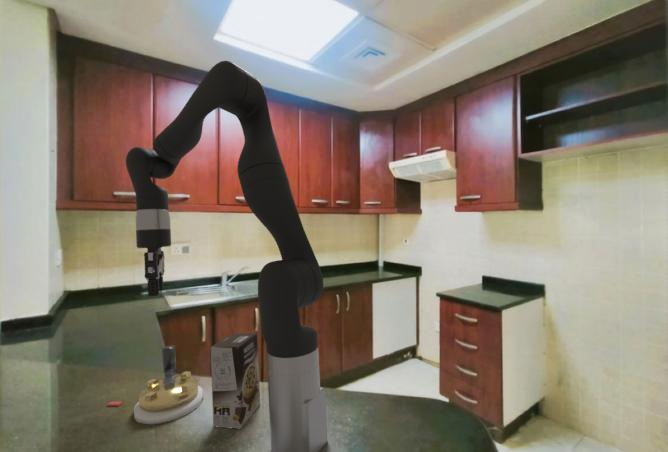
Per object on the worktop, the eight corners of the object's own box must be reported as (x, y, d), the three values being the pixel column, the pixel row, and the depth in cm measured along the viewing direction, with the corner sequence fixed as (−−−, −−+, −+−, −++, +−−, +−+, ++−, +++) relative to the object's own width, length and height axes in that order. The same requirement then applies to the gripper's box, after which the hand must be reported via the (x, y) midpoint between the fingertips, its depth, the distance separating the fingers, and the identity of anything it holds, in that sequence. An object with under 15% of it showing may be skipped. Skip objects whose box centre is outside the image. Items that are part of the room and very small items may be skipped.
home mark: (123, 403, 73) (122, 401, 73) (118, 406, 72) (118, 404, 72) (111, 403, 74) (111, 401, 74) (107, 406, 73) (107, 404, 73)
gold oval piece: (200, 400, 69) (199, 364, 69) (136, 418, 63) (135, 378, 63) (194, 370, 85) (193, 341, 85) (143, 382, 80) (142, 350, 80)
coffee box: (241, 430, 61) (238, 347, 61) (212, 427, 62) (208, 346, 62) (261, 404, 70) (258, 332, 70) (235, 402, 71) (232, 332, 71)
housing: (216, 396, 74) (215, 389, 74) (160, 430, 62) (160, 423, 62) (177, 386, 81) (177, 380, 81) (120, 415, 68) (120, 408, 68)
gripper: (167, 226, 73) (170, 295, 72) (172, 229, 86) (175, 287, 85) (130, 227, 70) (132, 300, 69) (141, 230, 83) (143, 291, 82)
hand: (156, 293), depth 77 cm, fingers open, 8 cm apart
